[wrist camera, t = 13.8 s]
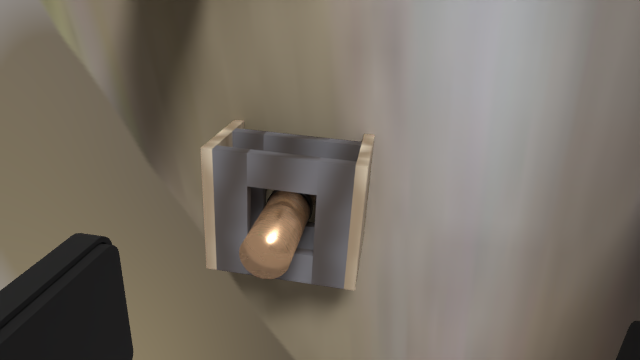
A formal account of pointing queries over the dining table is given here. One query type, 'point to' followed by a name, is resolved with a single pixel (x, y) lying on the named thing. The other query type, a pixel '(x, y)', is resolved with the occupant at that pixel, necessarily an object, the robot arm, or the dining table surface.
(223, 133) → the collar stand
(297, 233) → the tan cylinder
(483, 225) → the dining table surface
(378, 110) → the dining table surface
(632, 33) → the dining table surface
